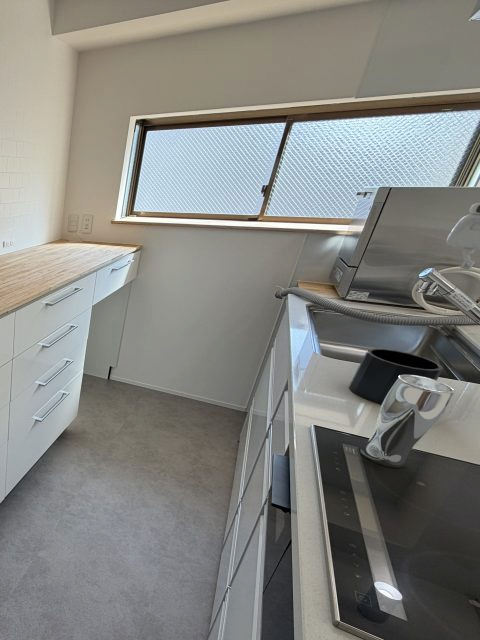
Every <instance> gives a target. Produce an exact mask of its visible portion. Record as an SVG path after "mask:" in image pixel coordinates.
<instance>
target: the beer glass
mask: <svg viewBox="0 0 480 640" xmlns="http://www.w3.org/2000/svg"><path fill="white" fill-rule="evenodd" d="M455 392H456V389H455V388H454V387H453V386H451V385H450V384H447V383H444V381H443V382H442V381H440V380H438V379H437V380H434V379H430V378H426V377H422V376H416V375H400V376H399V378H398V379H397V381H396V382H395V383H394V385H393V386H392V388H391V389H390V391H389V392H388V394H387V395H386V397H385V399H384V401H383V403H382V405H381V404H380V408H379V410H378V415H377V418H376V422H375V426H374V428H373V431H372V433H371V435H370V437H369V439H368V440H367V441H366V442H365V443H364V444H363V445H362V446H361V447H360V448H359V453H360V454H361V455H362V456H363V457H364V458H366V459H367V460H369V461H371V462H373V463H375V464H378V465H381V466H383V467H387V468H392V469H393V468H394V469H402V468H404V467H405V466H406V465H407V462H408V458H409V455H410V454H411V453H410V452H411V451H412V449H413V448H414V447H415V445H416V444H417V443H418V442H419V441H420V440H421V439H422V438H423V437H424V436H425V435H426V434H427V433H428V432H429V431H430V430H431V429H432V428H433V427H434V426H435V425H436V423H438V421H439V420H440V419H441V417H442V416H443V414H444V413H445V411H446V409H447V407H448V405H449V403H450V401H451V399H452V397H453V395H454V393H455Z"/></svg>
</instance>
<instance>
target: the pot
mask: <svg viewBox="0 0 480 640" xmlns="http://www.w3.org/2000/svg"><path fill="white" fill-rule="evenodd" d="M443 371H444V367H443V365H442V364H440V363H439V362H437V361H435V360H432V359H429V358H427V357H424V356H420V355H417V354H413V353H409V352H406V351H400V350H396V349H388V348H371V349H367V350H366V352H365V354H364V356H363V358H362V360H361V362H360V363H359V366H358V367H357V370H356V371H355V374H354V376H353V377H352V379H351V381H350V383H349V385H348V389H349V391H350V392H352V393H353V394H355V396H358V397H359V398H362V399H364V400H367V401H369V402H372V403H375V404H377V405H380V406H381V405H382V403H383V401H384V399H385V397H386V395H387V394H388V392H389V391H390V389H391V388H392V386H393V385H394V383H395V382H396V381H397V379H398V378H399V376H400V375H416V376H422V377H426V378H430V379H434V380H437V381H438V379H439V377H440V376H441V374H442V372H443Z"/></svg>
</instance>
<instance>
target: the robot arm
mask: <svg viewBox="0 0 480 640" xmlns="http://www.w3.org/2000/svg"><path fill="white" fill-rule="evenodd" d="M469 213H470V214H467V215H465V216H463V217H461V219H459V221H458V222H457V223H456V224H455V225H454V227H453V228H452V229H451V231H450V233H449V234H448V236H447V238H446V241H445V243H446V245H447V246H448V247H456V248H463V249H462V251H461V256H462V260H463V261H462V264H461V265H460V269H463V270H472V269H473V268H474V267H473V266H474V265H475V263H476V261H474V260H472V259H471V254H474V253H475V251H476V250H480V202H476V203H473V204H472V205H471V206H470V208H469Z"/></svg>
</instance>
